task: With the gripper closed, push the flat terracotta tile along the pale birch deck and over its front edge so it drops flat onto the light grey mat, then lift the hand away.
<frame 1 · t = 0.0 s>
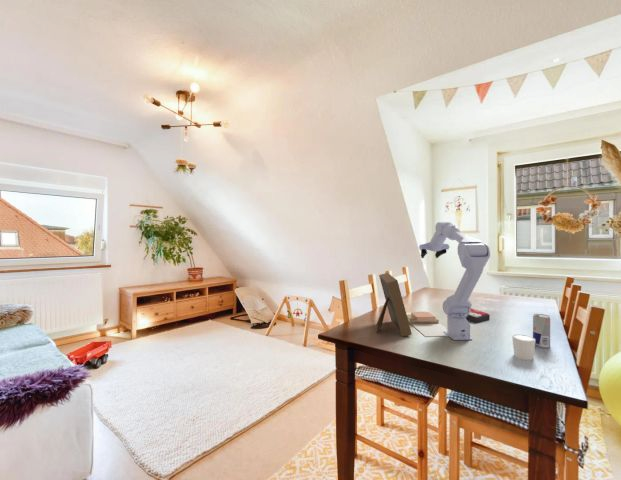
hand: (429, 256, 154), 32 cm above the table, tool tilted 50°, fingers open, 7 cm apart
mat: (433, 330, 134), on the table
energy drink: (541, 346, 114), on the table
tile: (423, 318, 146), point 2 cm above the table, touching deck
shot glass: (523, 357, 105), on the table
photo frame: (389, 329, 138), on the table
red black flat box: (469, 318, 152), on the table
deck: (419, 319, 150), on the table
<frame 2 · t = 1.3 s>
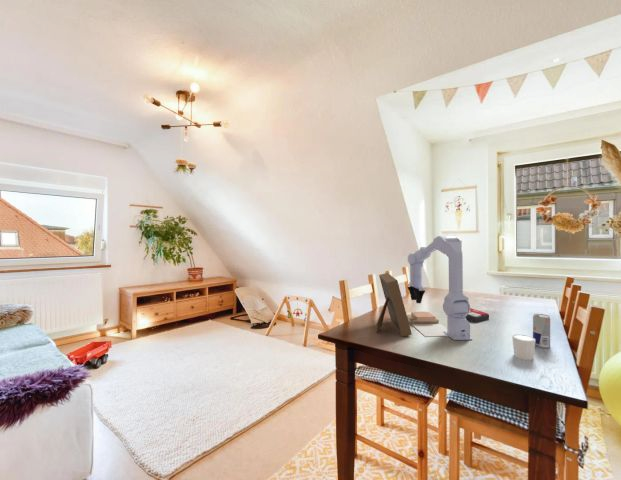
hand: (416, 301, 155), 8 cm above the table, tool pointing down, fingers open, 7 cm apart
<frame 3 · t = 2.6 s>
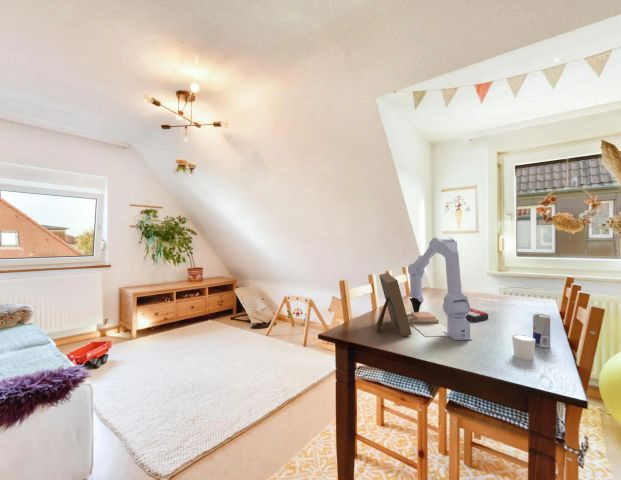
hand: (416, 312, 155), 3 cm above the table, tool pointing down, fingers closed
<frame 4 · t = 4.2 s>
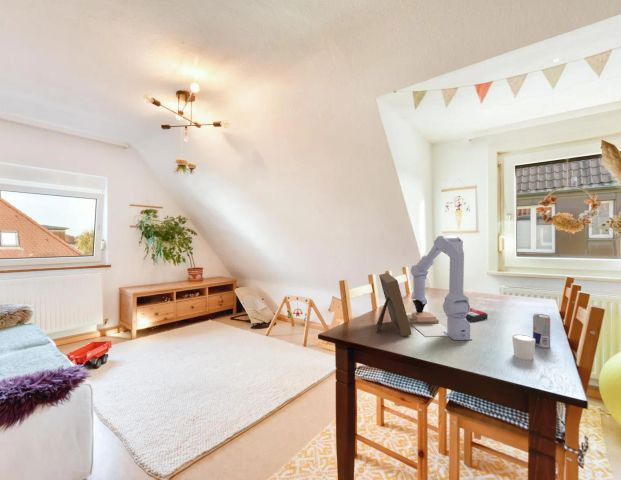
hand: (419, 314, 150), 3 cm above the table, tool pointing down, fingers closed
tile: (423, 318, 145), point 2 cm above the table, touching deck, gripper
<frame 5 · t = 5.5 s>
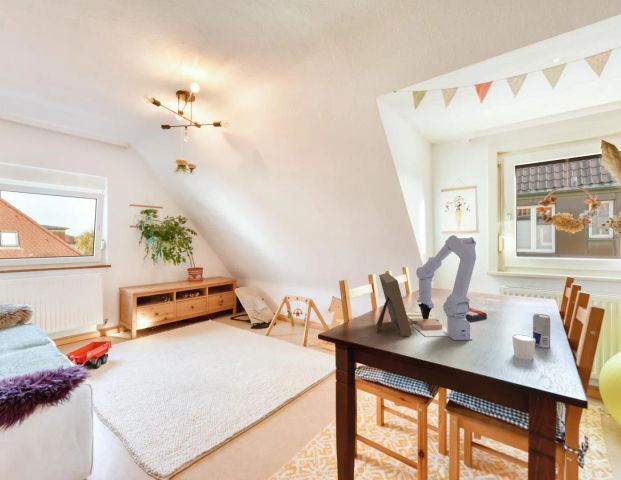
hand: (425, 318, 143), 3 cm above the table, tool pointing down, fingers closed
tile: (429, 326, 138), resting on mat
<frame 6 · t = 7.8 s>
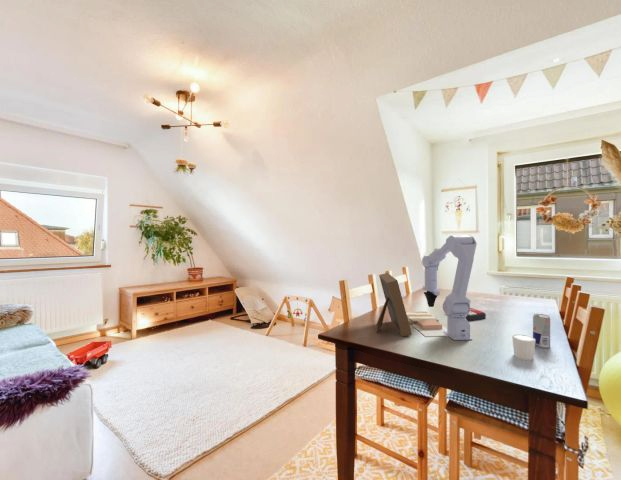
hand: (430, 306, 146), 8 cm above the table, tool pointing down, fingers closed
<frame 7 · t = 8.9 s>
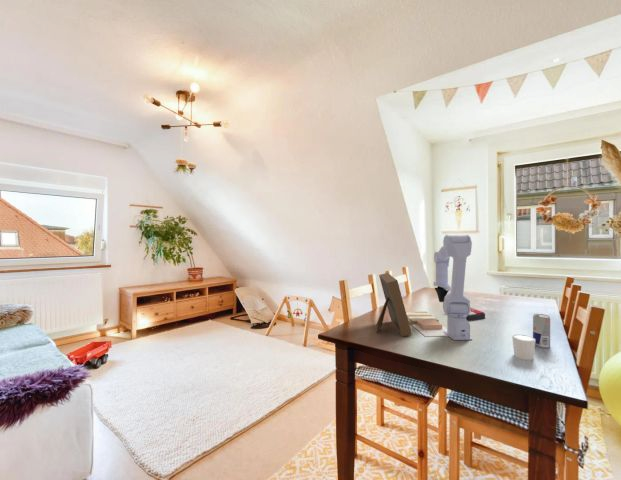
hand: (441, 301, 149), 9 cm above the table, tool pointing down, fingers closed
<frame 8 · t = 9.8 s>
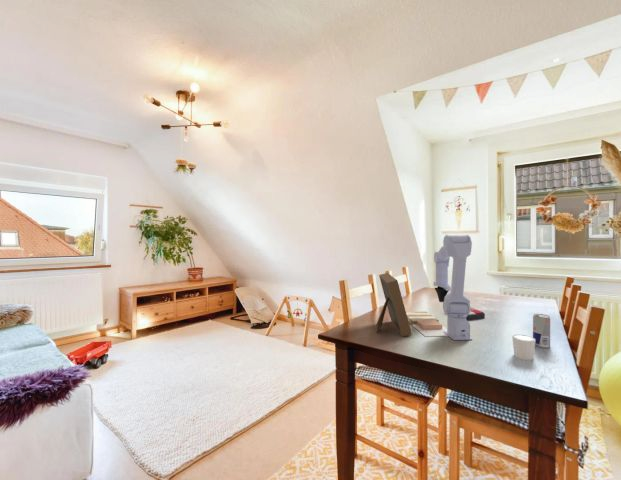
hand: (441, 301, 149), 9 cm above the table, tool pointing down, fingers closed
at the end: tile inside the target area (4.0 cm from its centre), resting on mat; tile tilted 0° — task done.
